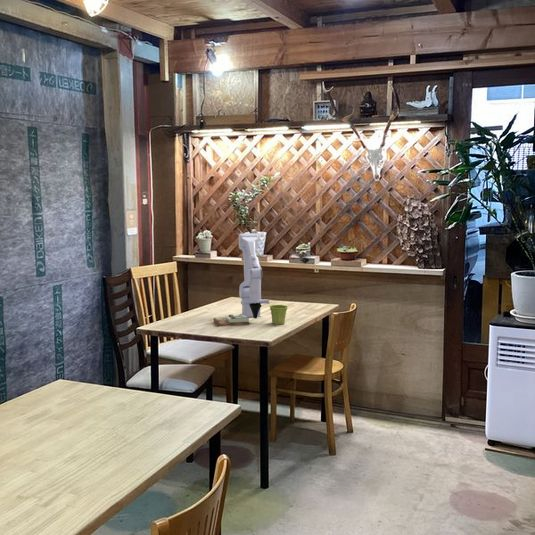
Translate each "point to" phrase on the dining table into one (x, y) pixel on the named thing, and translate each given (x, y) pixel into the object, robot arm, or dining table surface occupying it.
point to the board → (224, 322)
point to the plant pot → (278, 313)
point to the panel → (237, 319)
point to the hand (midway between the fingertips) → (255, 318)
